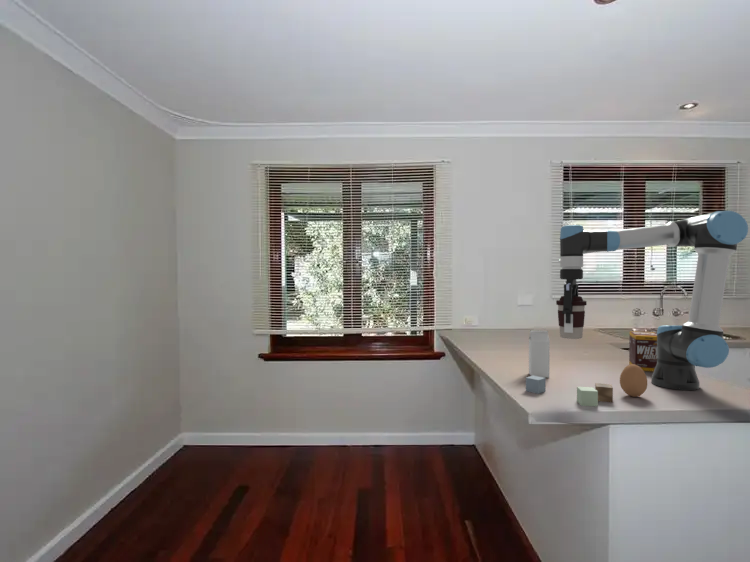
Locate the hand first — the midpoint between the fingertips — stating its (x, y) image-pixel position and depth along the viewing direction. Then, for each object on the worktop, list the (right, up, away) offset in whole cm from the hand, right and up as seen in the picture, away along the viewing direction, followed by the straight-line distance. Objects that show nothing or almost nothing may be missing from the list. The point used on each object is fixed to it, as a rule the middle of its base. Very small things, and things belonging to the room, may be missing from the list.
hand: (571, 330), depth 155 cm
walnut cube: (+7, -23, -8) cm, 25 cm away
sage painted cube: (-1, -23, -13) cm, 26 cm away
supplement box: (+52, -22, +40) cm, 69 cm away
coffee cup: (0, -3, 0) cm, 3 cm away
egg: (+20, -23, -5) cm, 30 cm away
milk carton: (-2, -22, +26) cm, 34 cm away
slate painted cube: (-12, -22, +3) cm, 26 cm away
